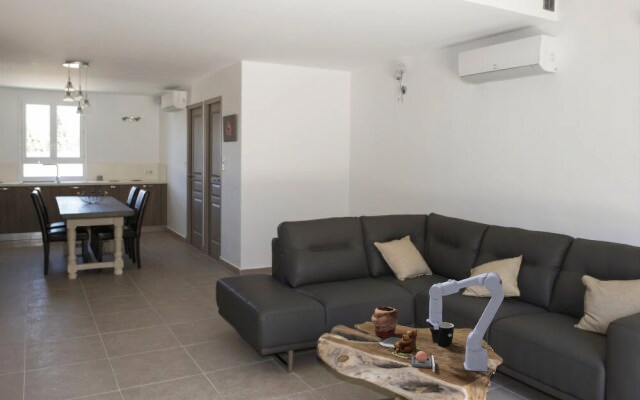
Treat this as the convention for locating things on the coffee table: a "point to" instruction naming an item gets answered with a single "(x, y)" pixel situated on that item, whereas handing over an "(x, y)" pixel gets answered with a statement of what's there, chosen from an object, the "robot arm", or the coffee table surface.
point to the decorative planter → (385, 321)
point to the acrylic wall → (433, 364)
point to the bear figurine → (406, 346)
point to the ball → (421, 356)
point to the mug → (446, 334)
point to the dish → (419, 364)
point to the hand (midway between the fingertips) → (434, 339)
